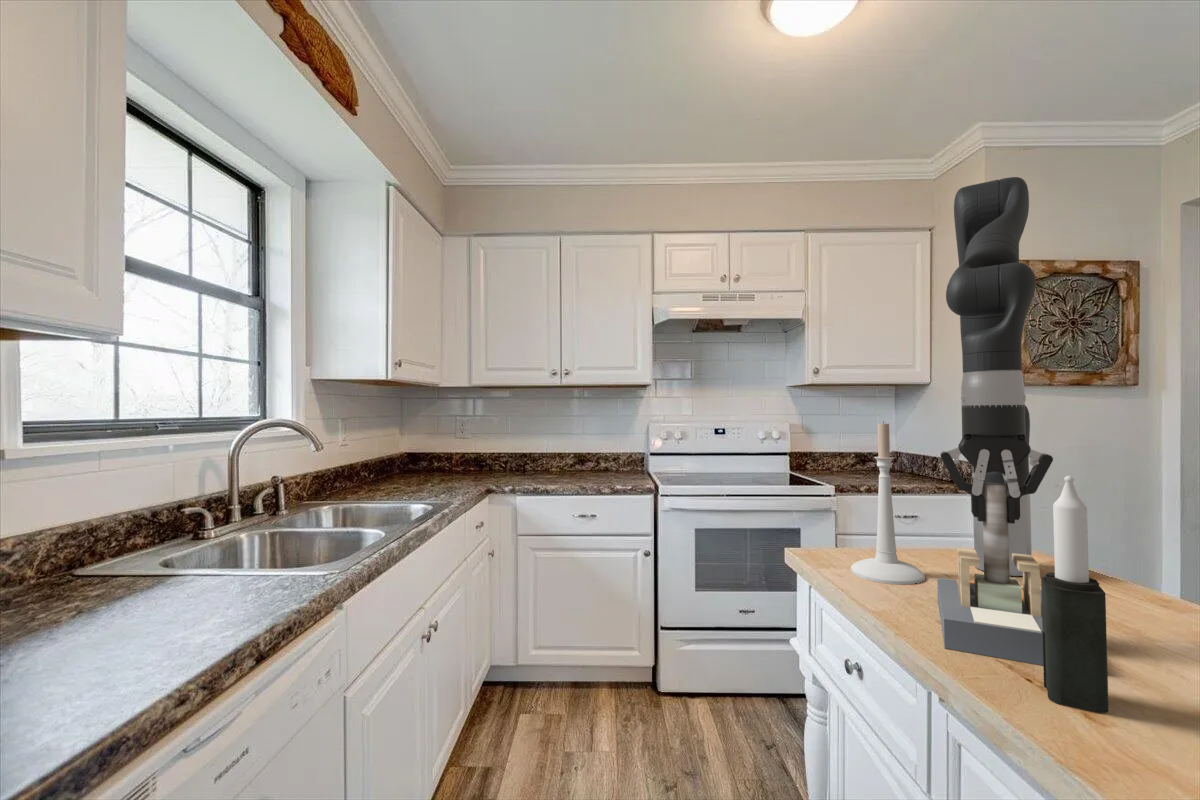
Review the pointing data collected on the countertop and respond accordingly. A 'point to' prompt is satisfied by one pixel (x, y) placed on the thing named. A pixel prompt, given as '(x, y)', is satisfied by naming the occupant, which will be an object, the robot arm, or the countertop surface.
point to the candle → (1073, 614)
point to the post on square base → (996, 555)
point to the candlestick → (886, 529)
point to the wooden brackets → (1023, 564)
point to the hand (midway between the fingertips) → (995, 521)
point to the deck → (988, 627)
